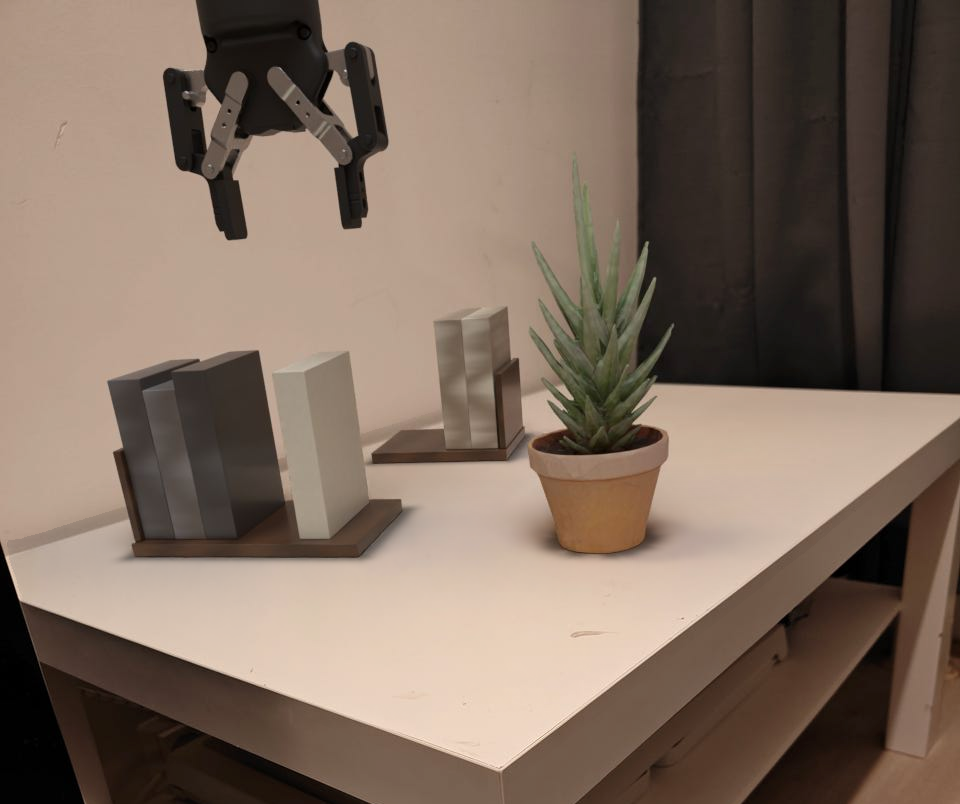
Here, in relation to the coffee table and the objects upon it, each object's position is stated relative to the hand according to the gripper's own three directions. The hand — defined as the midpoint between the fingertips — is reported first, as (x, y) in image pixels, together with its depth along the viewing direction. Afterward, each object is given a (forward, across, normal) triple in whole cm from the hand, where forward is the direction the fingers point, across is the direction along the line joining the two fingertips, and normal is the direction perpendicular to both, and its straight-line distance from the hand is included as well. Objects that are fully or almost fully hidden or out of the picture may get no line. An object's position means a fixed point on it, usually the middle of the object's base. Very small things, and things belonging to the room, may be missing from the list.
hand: (293, 234), depth 64 cm
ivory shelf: (+21, -2, -26) cm, 34 cm away
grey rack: (+21, +6, 0) cm, 22 cm away
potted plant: (+22, -20, +2) cm, 30 cm away
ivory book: (+20, 0, 0) cm, 20 cm away
